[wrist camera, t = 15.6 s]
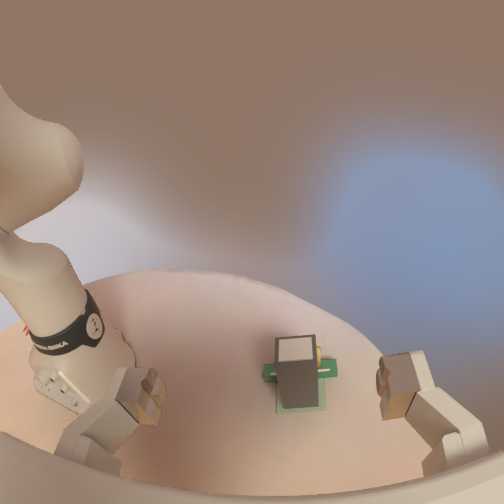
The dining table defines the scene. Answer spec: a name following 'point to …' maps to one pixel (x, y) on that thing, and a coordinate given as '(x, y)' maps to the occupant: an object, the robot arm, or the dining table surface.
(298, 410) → the pad
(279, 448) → the dining table surface
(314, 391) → the block
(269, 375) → the header strip
